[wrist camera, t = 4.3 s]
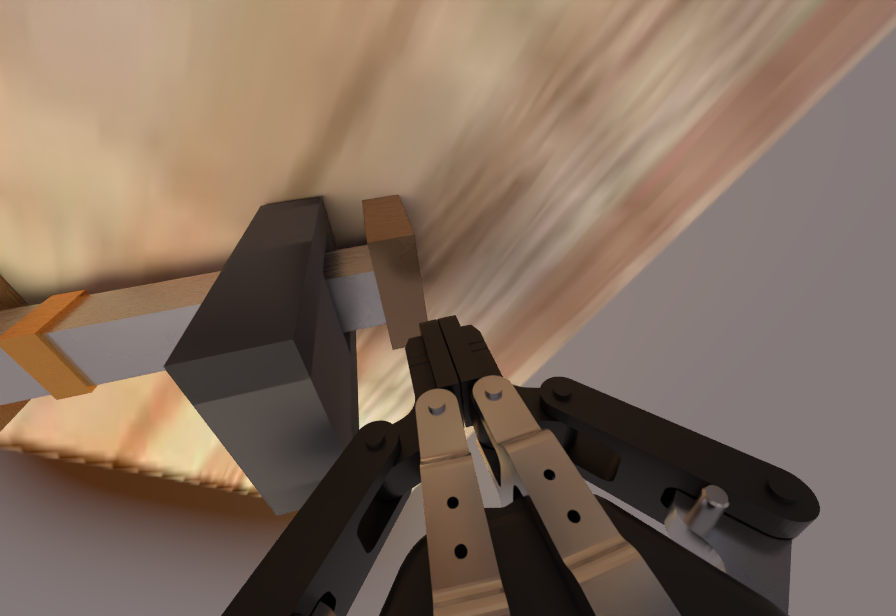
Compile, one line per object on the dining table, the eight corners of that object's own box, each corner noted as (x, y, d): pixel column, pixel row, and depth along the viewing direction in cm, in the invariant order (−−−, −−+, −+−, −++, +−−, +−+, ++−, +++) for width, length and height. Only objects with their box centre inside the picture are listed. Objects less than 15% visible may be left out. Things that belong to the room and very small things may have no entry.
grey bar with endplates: (398, 194, 20) (413, 234, 15) (414, 286, 23) (430, 341, 19) (-61, 269, 17) (-217, 347, 12) (34, 361, 20) (-58, 450, 16)
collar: (320, 196, 19) (292, 339, 9) (355, 311, 23) (361, 492, 13) (260, 206, 18) (163, 366, 9) (306, 321, 22) (276, 515, 13)
